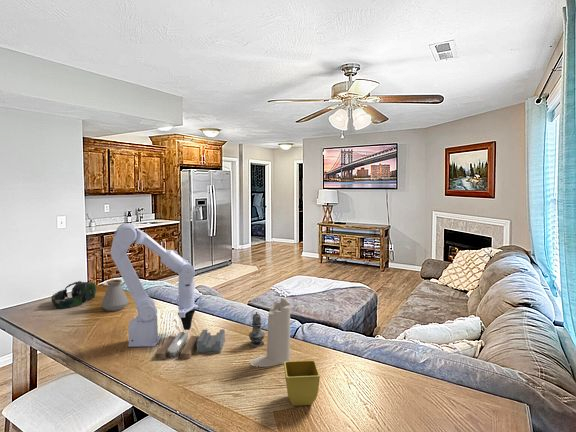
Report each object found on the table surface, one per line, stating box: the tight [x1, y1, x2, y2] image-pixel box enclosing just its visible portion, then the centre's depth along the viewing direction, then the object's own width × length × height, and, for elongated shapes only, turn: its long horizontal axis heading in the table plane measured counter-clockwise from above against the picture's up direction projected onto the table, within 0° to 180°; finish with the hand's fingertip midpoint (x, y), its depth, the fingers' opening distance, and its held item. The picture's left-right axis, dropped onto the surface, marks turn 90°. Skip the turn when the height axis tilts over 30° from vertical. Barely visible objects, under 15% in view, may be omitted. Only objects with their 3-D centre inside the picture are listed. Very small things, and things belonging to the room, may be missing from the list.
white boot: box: [247, 297, 291, 368], centre depth 118 cm, size 7×14×20 cm, turn 113°
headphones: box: [50, 280, 97, 310], centre depth 177 cm, size 13×13×20 cm
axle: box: [167, 331, 189, 359], centre depth 127 cm, size 12×4×4 cm, turn 1°
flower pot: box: [283, 359, 321, 407], centre depth 97 cm, size 9×9×9 cm
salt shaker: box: [248, 311, 266, 348], centre depth 131 cm, size 6×6×12 cm
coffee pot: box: [100, 270, 144, 312], centre depth 173 cm, size 21×12×15 cm, turn 152°
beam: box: [155, 335, 200, 360], centre depth 127 cm, size 11×14×2 cm
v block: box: [196, 328, 226, 354], centre depth 129 cm, size 8×10×4 cm
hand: (187, 329), depth 139 cm, fingers closed
